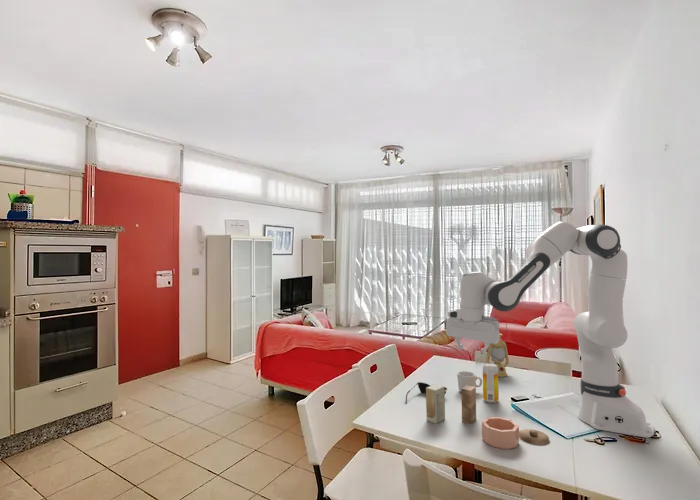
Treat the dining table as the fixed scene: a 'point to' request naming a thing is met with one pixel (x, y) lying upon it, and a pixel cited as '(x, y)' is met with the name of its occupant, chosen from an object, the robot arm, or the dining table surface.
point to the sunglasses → (422, 388)
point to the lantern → (498, 355)
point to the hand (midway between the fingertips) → (471, 351)
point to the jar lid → (533, 436)
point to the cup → (467, 379)
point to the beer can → (490, 383)
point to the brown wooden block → (468, 404)
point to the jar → (500, 432)
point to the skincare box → (435, 403)
